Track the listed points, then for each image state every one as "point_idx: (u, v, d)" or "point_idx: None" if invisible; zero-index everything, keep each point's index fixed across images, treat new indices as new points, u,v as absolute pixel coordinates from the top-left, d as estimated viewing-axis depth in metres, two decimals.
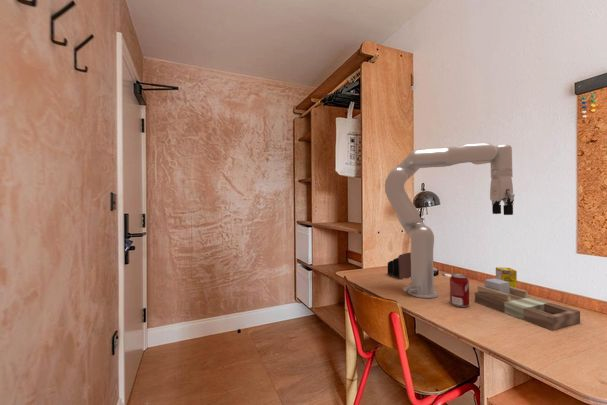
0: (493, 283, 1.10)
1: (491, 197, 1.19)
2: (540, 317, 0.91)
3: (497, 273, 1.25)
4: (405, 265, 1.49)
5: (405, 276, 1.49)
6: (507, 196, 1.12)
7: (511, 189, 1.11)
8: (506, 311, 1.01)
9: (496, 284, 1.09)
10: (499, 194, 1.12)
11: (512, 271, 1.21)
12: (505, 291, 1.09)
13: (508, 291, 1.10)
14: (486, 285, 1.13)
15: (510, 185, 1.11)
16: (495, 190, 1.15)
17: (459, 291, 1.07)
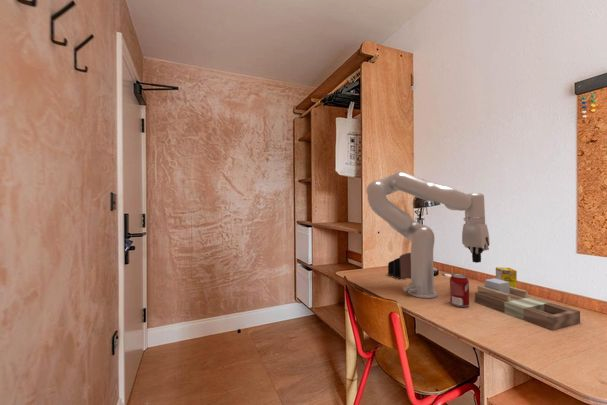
0: (493, 283, 1.10)
1: (465, 242, 1.22)
2: (540, 317, 0.91)
3: (497, 273, 1.25)
4: (406, 265, 1.48)
5: (406, 276, 1.48)
6: None
7: (488, 236, 1.16)
8: (506, 311, 1.01)
9: (496, 284, 1.09)
10: (480, 241, 1.16)
11: (512, 271, 1.21)
12: (505, 291, 1.09)
13: (508, 291, 1.10)
14: (486, 285, 1.13)
15: (487, 233, 1.16)
16: (473, 237, 1.19)
17: (459, 291, 1.07)
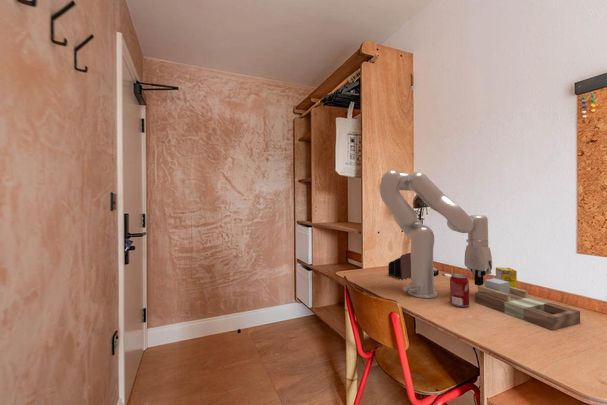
0: (493, 283, 1.10)
1: (467, 264, 1.21)
2: (540, 317, 0.91)
3: (497, 273, 1.25)
4: (407, 265, 1.48)
5: (407, 276, 1.48)
6: None
7: (491, 260, 1.15)
8: (506, 311, 1.01)
9: (496, 284, 1.09)
10: (482, 265, 1.15)
11: (512, 271, 1.21)
12: (505, 291, 1.09)
13: (508, 291, 1.10)
14: (486, 285, 1.13)
15: (490, 256, 1.15)
16: (475, 259, 1.17)
17: (459, 291, 1.07)
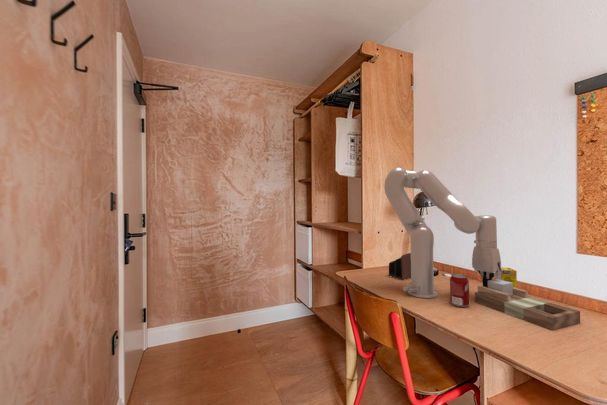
0: (496, 284, 1.09)
1: (475, 266, 1.18)
2: (540, 317, 0.91)
3: None
4: (407, 265, 1.48)
5: (407, 276, 1.48)
6: None
7: (500, 261, 1.12)
8: (506, 311, 1.01)
9: (499, 285, 1.08)
10: (491, 267, 1.11)
11: (512, 271, 1.21)
12: (508, 292, 1.08)
13: (511, 292, 1.09)
14: (489, 286, 1.12)
15: (499, 258, 1.12)
16: (484, 261, 1.14)
17: (459, 291, 1.07)
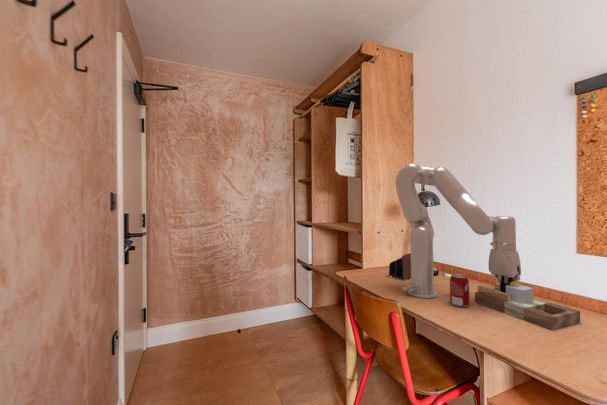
0: (515, 289, 1.02)
1: (492, 270, 1.11)
2: (540, 317, 0.91)
3: None
4: (408, 265, 1.48)
5: (408, 276, 1.47)
6: None
7: (520, 265, 1.05)
8: (506, 311, 1.01)
9: (519, 290, 1.01)
10: (510, 271, 1.04)
11: None
12: (529, 298, 1.01)
13: (532, 298, 1.01)
14: (507, 291, 1.05)
15: (519, 261, 1.05)
16: (502, 264, 1.07)
17: (459, 291, 1.07)
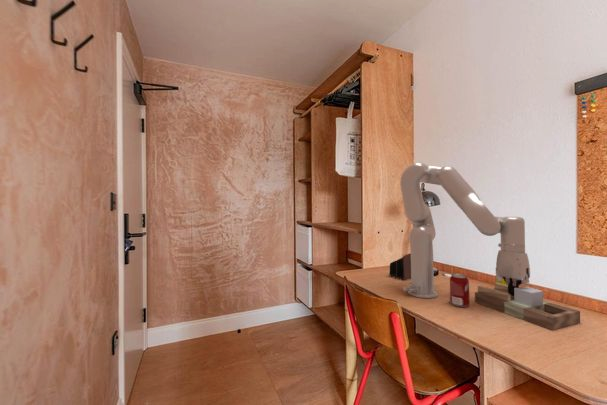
0: (525, 292, 0.99)
1: (500, 272, 1.08)
2: (540, 317, 0.91)
3: None
4: (409, 266, 1.47)
5: (409, 276, 1.47)
6: None
7: (529, 267, 1.02)
8: (506, 311, 1.01)
9: (528, 293, 0.98)
10: (519, 273, 1.01)
11: None
12: (538, 301, 0.98)
13: (542, 301, 0.98)
14: (516, 294, 1.02)
15: (528, 263, 1.02)
16: (510, 267, 1.04)
17: (459, 291, 1.07)
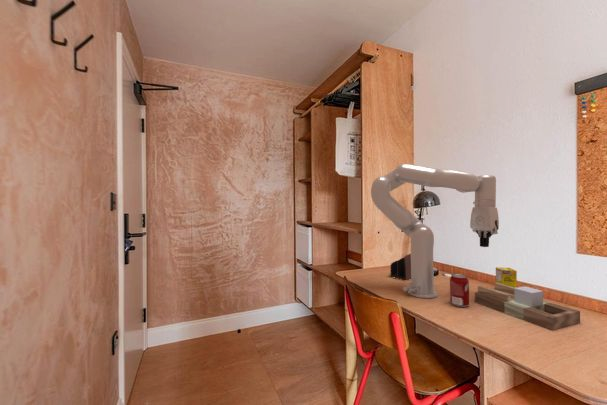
0: (525, 292, 0.99)
1: (473, 226, 1.19)
2: (540, 317, 0.91)
3: (497, 273, 1.25)
4: (410, 266, 1.47)
5: (410, 277, 1.47)
6: None
7: (498, 220, 1.12)
8: (506, 311, 1.01)
9: (528, 293, 0.98)
10: (488, 225, 1.12)
11: (512, 271, 1.21)
12: (538, 301, 0.98)
13: (542, 301, 0.98)
14: (516, 294, 1.02)
15: (497, 216, 1.12)
16: (481, 220, 1.15)
17: (459, 291, 1.07)
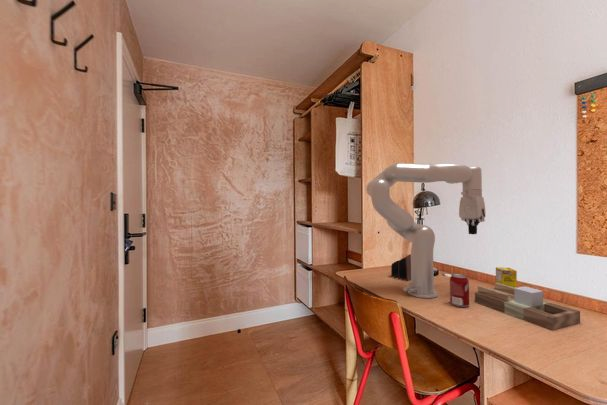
0: (525, 292, 0.99)
1: (462, 215, 1.26)
2: (540, 317, 0.91)
3: (497, 273, 1.25)
4: None
5: None
6: None
7: (484, 208, 1.20)
8: (506, 311, 1.01)
9: (528, 293, 0.98)
10: (476, 213, 1.19)
11: (512, 271, 1.21)
12: (538, 301, 0.98)
13: (542, 301, 0.98)
14: (516, 294, 1.02)
15: (484, 205, 1.20)
16: (469, 209, 1.22)
17: (459, 291, 1.07)
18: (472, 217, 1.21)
